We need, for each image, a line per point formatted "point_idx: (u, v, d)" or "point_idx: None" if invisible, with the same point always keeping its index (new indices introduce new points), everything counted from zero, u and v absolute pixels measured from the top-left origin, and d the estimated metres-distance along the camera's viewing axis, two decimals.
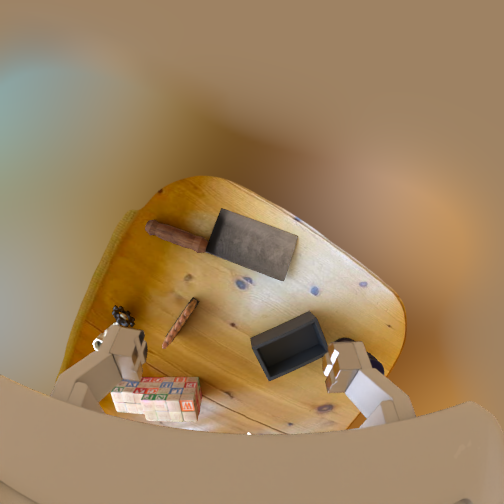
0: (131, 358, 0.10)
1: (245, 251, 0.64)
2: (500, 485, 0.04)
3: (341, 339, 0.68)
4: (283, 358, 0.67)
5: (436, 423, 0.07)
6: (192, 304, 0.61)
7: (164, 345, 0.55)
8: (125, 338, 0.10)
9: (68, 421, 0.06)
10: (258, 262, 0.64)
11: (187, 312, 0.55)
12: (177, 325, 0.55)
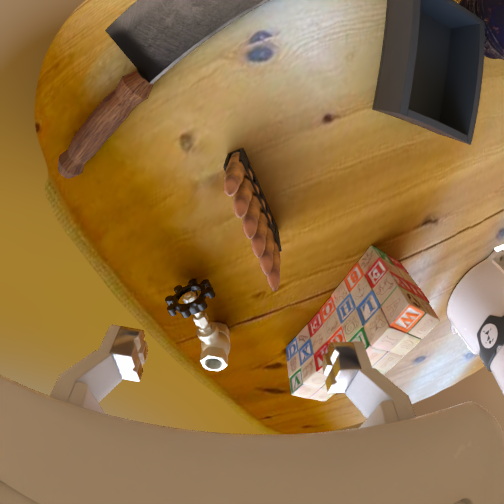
0: (131, 358, 0.10)
1: (198, 11, 0.20)
2: (500, 485, 0.04)
3: (462, 4, 0.16)
4: (441, 93, 0.24)
5: (436, 423, 0.07)
6: (231, 162, 0.25)
7: (272, 282, 0.24)
8: (125, 338, 0.10)
9: (68, 421, 0.06)
10: None
11: (228, 184, 0.20)
12: (246, 226, 0.22)
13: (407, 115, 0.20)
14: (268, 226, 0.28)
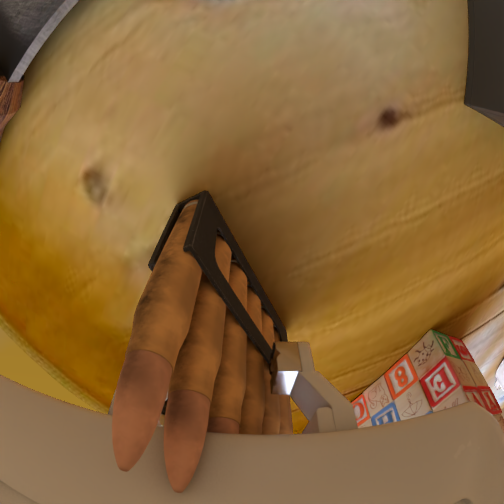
0: None
1: None
2: (500, 485, 0.04)
3: None
4: None
5: (436, 423, 0.07)
6: (164, 256, 0.09)
7: None
8: None
9: (68, 421, 0.06)
10: None
11: (120, 420, 0.04)
12: None
13: None
14: (268, 364, 0.13)
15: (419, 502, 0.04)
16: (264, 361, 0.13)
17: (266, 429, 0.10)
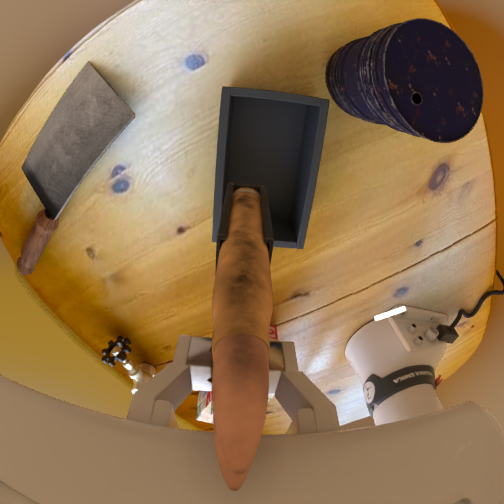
0: (210, 368, 0.10)
1: (68, 160, 0.29)
2: (500, 485, 0.04)
3: (330, 62, 0.25)
4: (291, 184, 0.33)
5: (436, 423, 0.07)
6: (244, 237, 0.09)
7: None
8: (200, 348, 0.10)
9: (68, 421, 0.06)
10: (88, 147, 0.28)
11: (243, 415, 0.04)
12: None
13: None
14: None
15: (419, 502, 0.04)
16: None
17: None
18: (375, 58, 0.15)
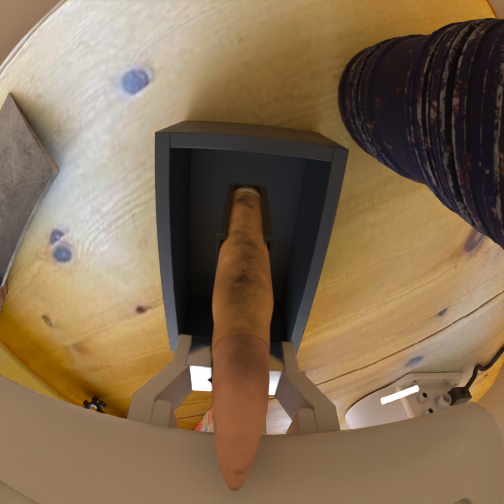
0: (211, 368, 0.10)
1: (0, 223, 0.20)
2: (500, 485, 0.04)
3: (346, 73, 0.16)
4: (283, 261, 0.23)
5: (436, 423, 0.07)
6: (244, 237, 0.09)
7: None
8: (200, 348, 0.10)
9: (68, 421, 0.06)
10: (15, 211, 0.19)
11: (243, 415, 0.04)
12: None
13: None
14: None
15: (419, 502, 0.04)
16: None
17: None
18: (467, 89, 0.05)
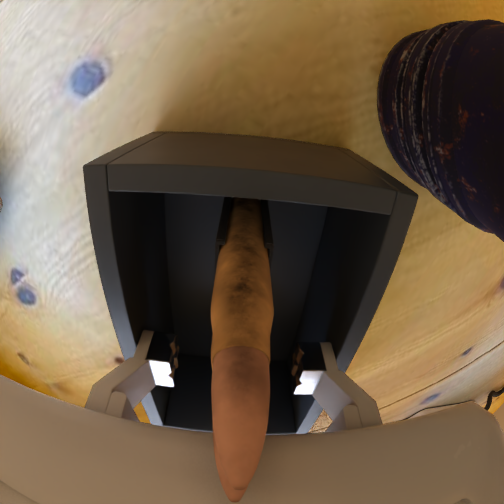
0: (169, 364, 0.10)
1: None
2: (500, 485, 0.04)
3: (389, 65, 0.10)
4: (293, 318, 0.18)
5: (436, 423, 0.07)
6: (244, 242, 0.09)
7: None
8: (161, 343, 0.10)
9: (68, 421, 0.06)
10: None
11: (243, 431, 0.04)
12: None
13: None
14: None
15: (419, 502, 0.04)
16: None
17: None
18: None
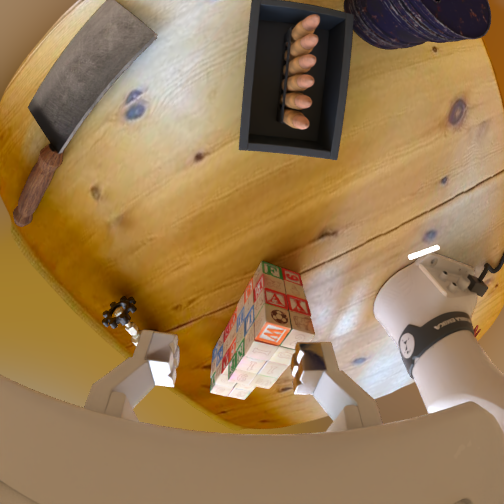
0: (168, 364, 0.10)
1: (81, 86, 0.25)
2: (500, 485, 0.04)
3: None
4: (317, 105, 0.29)
5: (436, 423, 0.07)
6: None
7: (304, 119, 0.19)
8: (160, 343, 0.10)
9: (68, 421, 0.06)
10: (104, 70, 0.24)
11: None
12: (308, 54, 0.17)
13: (248, 149, 0.26)
14: None
15: (419, 502, 0.04)
16: None
17: None
18: None
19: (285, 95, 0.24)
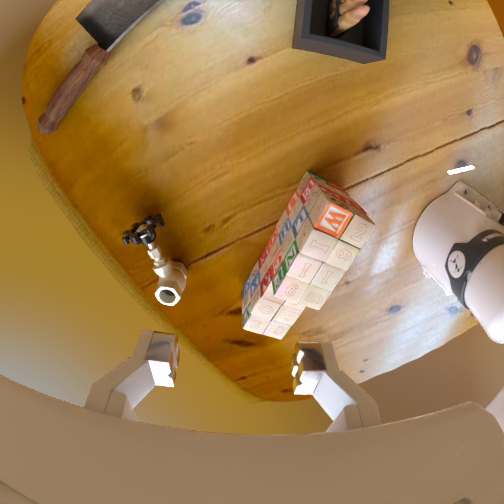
0: (168, 364, 0.10)
1: None
2: (500, 485, 0.04)
3: None
4: (360, 27, 0.26)
5: (436, 423, 0.07)
6: None
7: (365, 5, 0.16)
8: (160, 343, 0.10)
9: (68, 421, 0.06)
10: None
11: None
12: None
13: (309, 38, 0.23)
14: None
15: (419, 502, 0.04)
16: None
17: None
18: None
19: (339, 5, 0.21)
